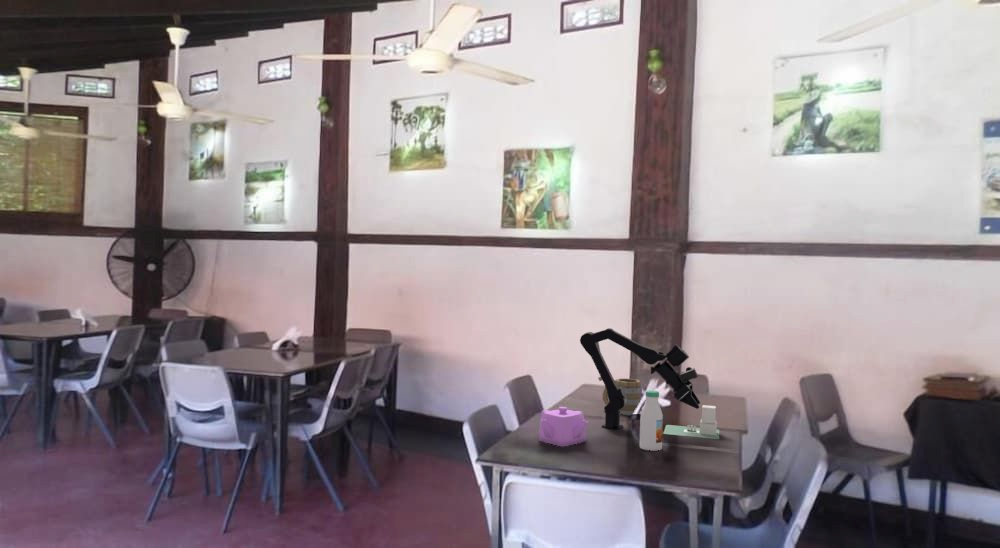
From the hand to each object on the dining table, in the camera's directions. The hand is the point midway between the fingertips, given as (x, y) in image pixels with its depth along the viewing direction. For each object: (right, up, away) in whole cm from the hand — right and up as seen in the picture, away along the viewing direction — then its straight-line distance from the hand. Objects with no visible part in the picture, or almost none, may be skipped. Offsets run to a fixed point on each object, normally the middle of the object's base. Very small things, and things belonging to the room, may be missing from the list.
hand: (698, 405), depth 262 cm
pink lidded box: (-53, -10, -15) cm, 56 cm away
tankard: (-23, -10, +41) cm, 48 cm away
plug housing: (+3, -10, -1) cm, 11 cm away
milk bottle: (-23, -11, -21) cm, 33 cm away
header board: (-3, -11, +1) cm, 11 cm away
